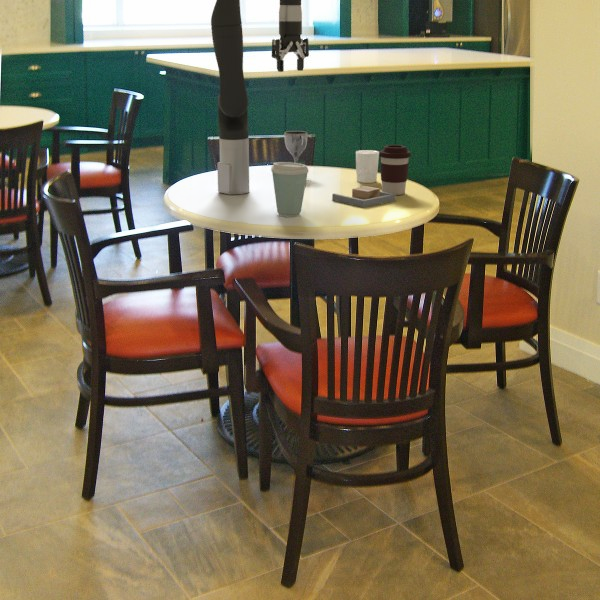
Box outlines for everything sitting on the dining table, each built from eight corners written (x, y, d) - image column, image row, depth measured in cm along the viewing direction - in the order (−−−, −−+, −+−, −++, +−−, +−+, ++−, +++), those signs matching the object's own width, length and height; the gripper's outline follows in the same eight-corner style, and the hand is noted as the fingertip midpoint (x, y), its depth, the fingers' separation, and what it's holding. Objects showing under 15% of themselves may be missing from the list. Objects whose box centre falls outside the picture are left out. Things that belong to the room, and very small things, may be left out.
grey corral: (363, 207, 264) (363, 200, 263) (332, 200, 273) (332, 193, 273) (395, 200, 273) (395, 194, 272) (364, 194, 282) (364, 187, 282)
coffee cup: (413, 191, 286) (415, 145, 281) (403, 197, 277) (405, 149, 272) (384, 189, 290) (385, 143, 285) (373, 194, 281) (374, 147, 276)
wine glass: (307, 177, 309) (307, 133, 304) (284, 177, 309) (284, 133, 304) (307, 173, 316) (307, 130, 312) (284, 173, 316) (284, 130, 312)
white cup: (376, 183, 298) (377, 154, 295) (353, 182, 300) (354, 153, 296) (379, 179, 306) (380, 150, 302) (356, 178, 307) (357, 149, 304)
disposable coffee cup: (287, 209, 261) (287, 158, 257) (316, 214, 255) (316, 162, 250) (263, 215, 254) (263, 163, 249) (292, 221, 247) (292, 167, 242)
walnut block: (367, 204, 269) (367, 191, 267) (352, 201, 272) (352, 188, 271) (379, 201, 273) (379, 188, 272) (364, 198, 277) (364, 186, 275)
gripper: (281, 20, 282) (281, 72, 287) (314, 19, 291) (313, 70, 296) (266, 20, 287) (266, 71, 293) (299, 19, 296) (299, 69, 302)
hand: (290, 71), depth 294 cm, fingers open, 8 cm apart
